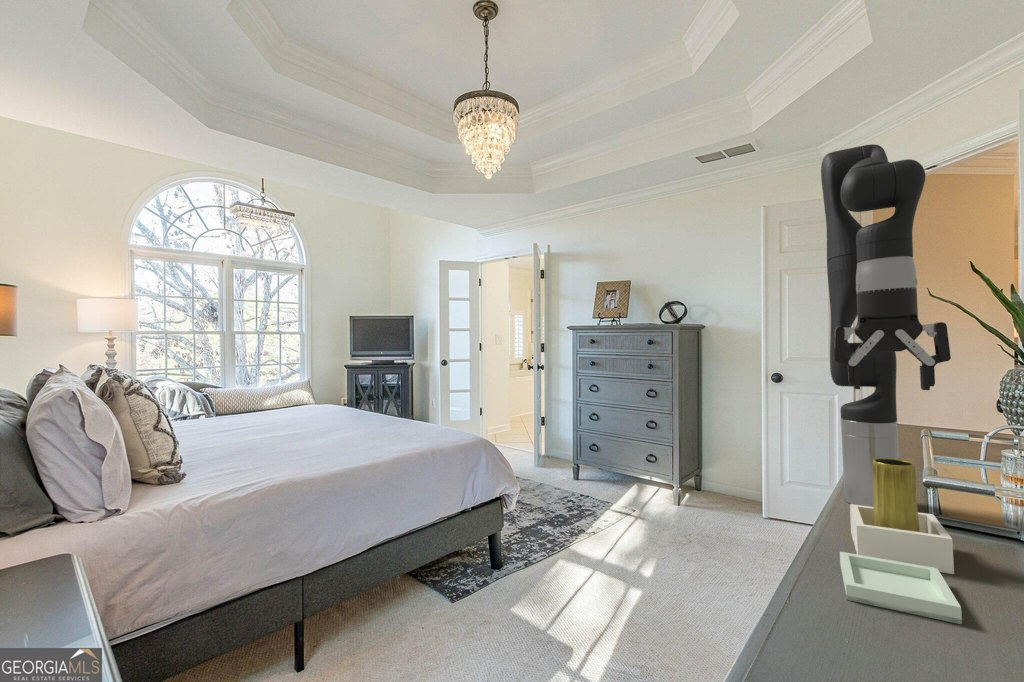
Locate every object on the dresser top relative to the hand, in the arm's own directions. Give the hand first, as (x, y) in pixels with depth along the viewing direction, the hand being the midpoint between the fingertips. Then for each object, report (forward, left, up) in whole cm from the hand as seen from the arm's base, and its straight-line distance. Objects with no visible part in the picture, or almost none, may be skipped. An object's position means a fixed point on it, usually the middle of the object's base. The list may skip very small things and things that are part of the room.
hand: (889, 389), depth 73 cm
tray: (+15, -3, -26) cm, 30 cm away
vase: (0, 0, -26) cm, 26 cm away
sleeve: (0, 0, -26) cm, 26 cm away
